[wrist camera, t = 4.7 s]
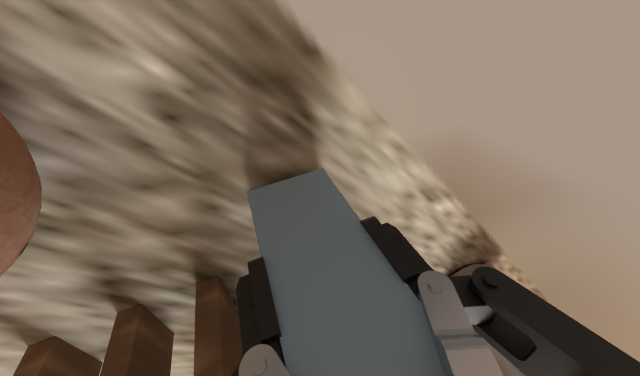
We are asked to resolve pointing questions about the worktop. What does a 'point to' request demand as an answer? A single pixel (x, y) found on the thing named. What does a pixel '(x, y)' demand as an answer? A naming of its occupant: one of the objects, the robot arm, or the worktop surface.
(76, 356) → the domino
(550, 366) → the robot arm
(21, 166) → the onion
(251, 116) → the worktop surface
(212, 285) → the domino
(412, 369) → the domino
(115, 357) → the domino
